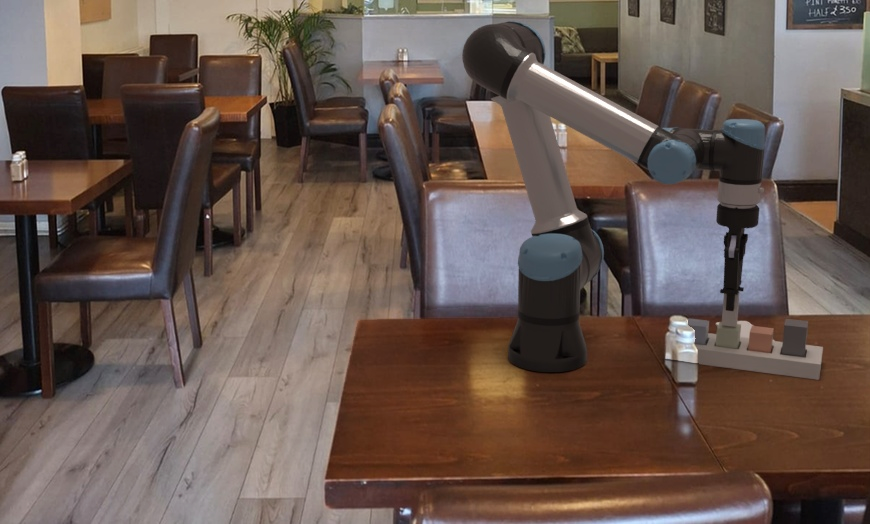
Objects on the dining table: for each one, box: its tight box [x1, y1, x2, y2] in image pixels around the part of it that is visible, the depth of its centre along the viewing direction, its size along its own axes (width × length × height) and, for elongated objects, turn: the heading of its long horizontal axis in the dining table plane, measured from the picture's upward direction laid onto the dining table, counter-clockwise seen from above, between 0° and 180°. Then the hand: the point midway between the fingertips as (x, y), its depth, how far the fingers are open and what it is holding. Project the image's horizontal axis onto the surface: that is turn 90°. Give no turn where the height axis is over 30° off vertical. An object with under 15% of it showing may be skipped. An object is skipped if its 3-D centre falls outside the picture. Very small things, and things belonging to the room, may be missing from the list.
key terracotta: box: [748, 325, 775, 353], centre depth 197 cm, size 4×4×6 cm
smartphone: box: [715, 320, 775, 341], centre depth 213 cm, size 7×1×15 cm
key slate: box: [687, 317, 710, 345], centre depth 201 cm, size 4×4×6 cm
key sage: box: [716, 321, 741, 349], centre depth 199 cm, size 4×4×6 cm
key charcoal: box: [782, 318, 809, 357], centre depth 194 cm, size 4×4×6 cm
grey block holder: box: [664, 332, 824, 381], centre depth 199 cm, size 28×10×3 cm, turn 68°
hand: (729, 325), depth 198 cm, fingers closed
